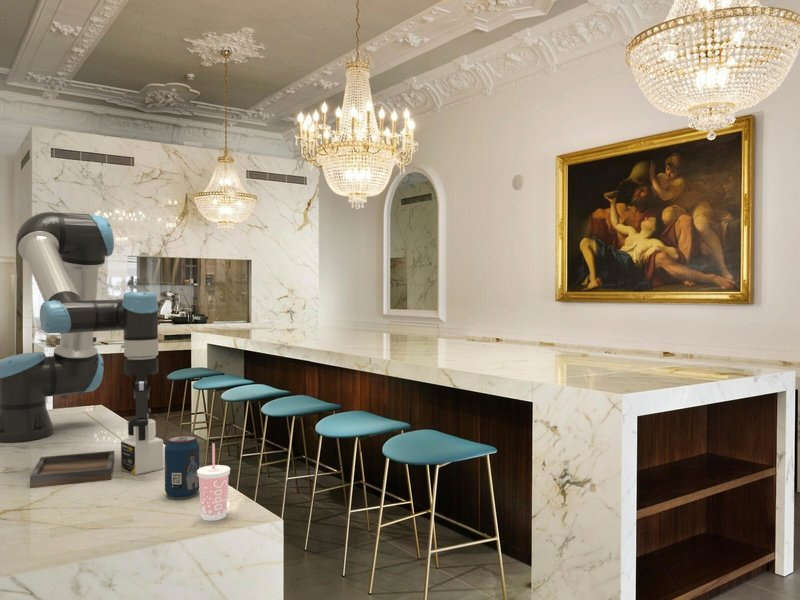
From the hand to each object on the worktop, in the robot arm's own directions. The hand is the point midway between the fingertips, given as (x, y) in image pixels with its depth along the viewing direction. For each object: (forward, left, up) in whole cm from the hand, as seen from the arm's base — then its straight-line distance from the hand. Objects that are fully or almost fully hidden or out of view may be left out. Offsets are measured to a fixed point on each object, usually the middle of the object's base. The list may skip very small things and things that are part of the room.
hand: (142, 447), depth 153 cm
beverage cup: (+37, +13, -6) cm, 39 cm away
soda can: (+22, +8, -6) cm, 24 cm away
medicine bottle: (0, 0, -6) cm, 6 cm away
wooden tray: (-2, -15, -5) cm, 16 cm away
